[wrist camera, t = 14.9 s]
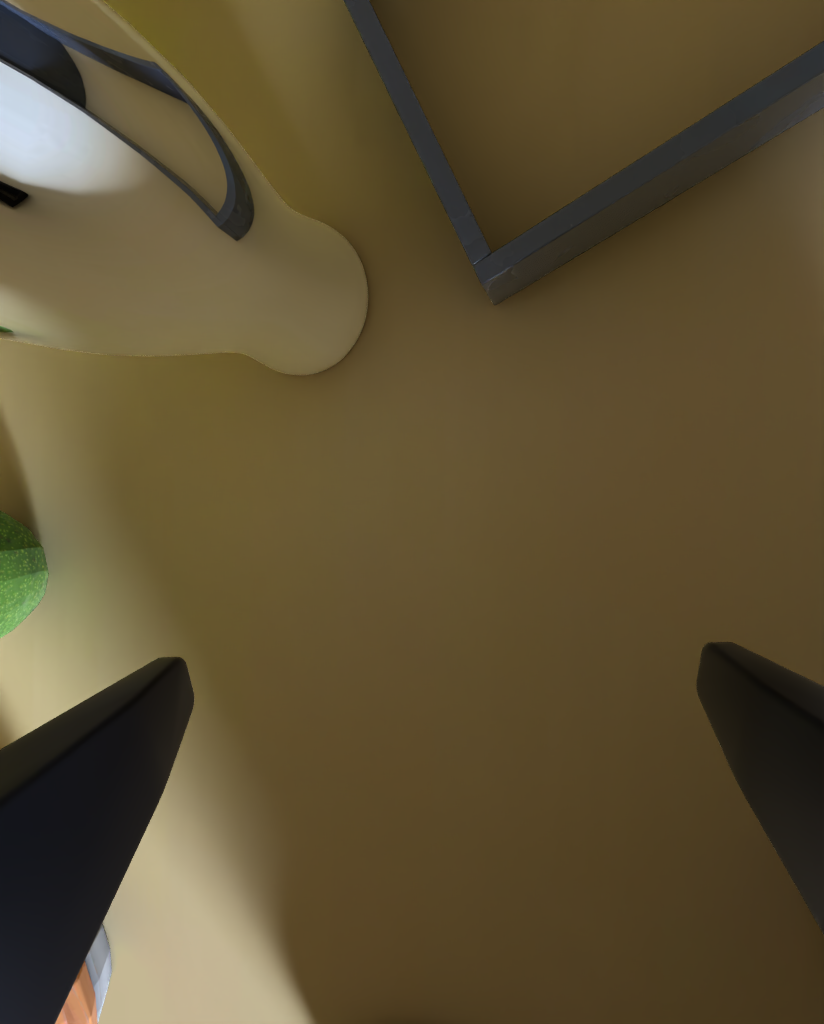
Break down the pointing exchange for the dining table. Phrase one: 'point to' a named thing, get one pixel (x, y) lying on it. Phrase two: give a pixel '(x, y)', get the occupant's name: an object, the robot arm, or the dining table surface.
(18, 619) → the avocado
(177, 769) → the dining table surface
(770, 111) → the dark grey hollow frame
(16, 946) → the robot arm
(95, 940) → the pie
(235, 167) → the silver metal goblet
